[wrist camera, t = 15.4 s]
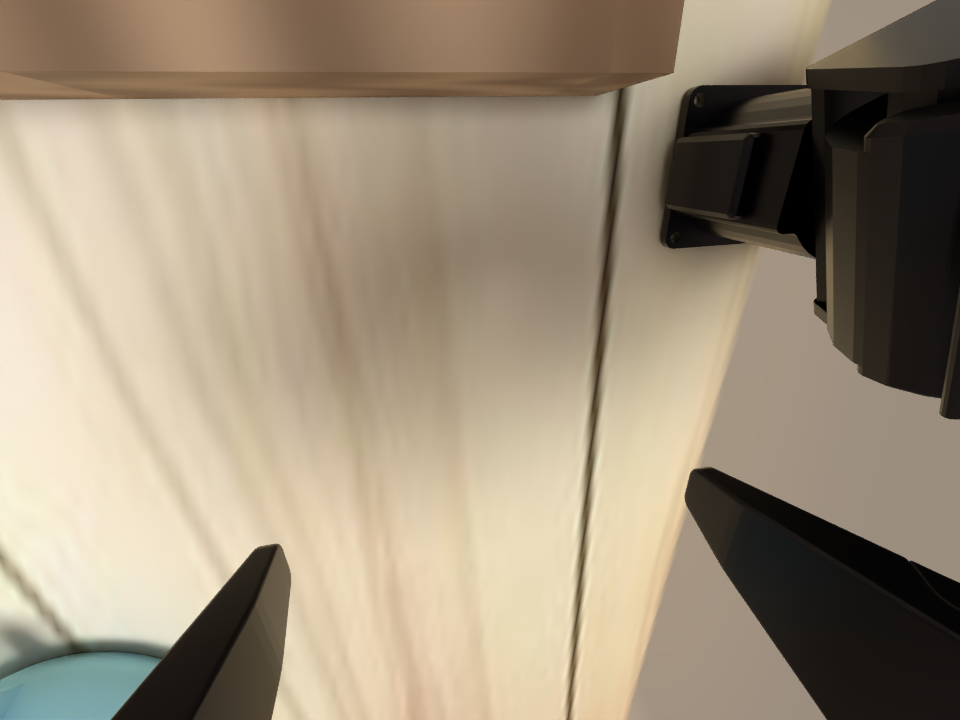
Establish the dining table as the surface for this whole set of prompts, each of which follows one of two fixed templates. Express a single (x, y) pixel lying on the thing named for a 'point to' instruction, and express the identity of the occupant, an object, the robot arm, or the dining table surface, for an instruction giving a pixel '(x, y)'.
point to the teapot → (74, 686)
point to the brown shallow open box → (332, 47)
